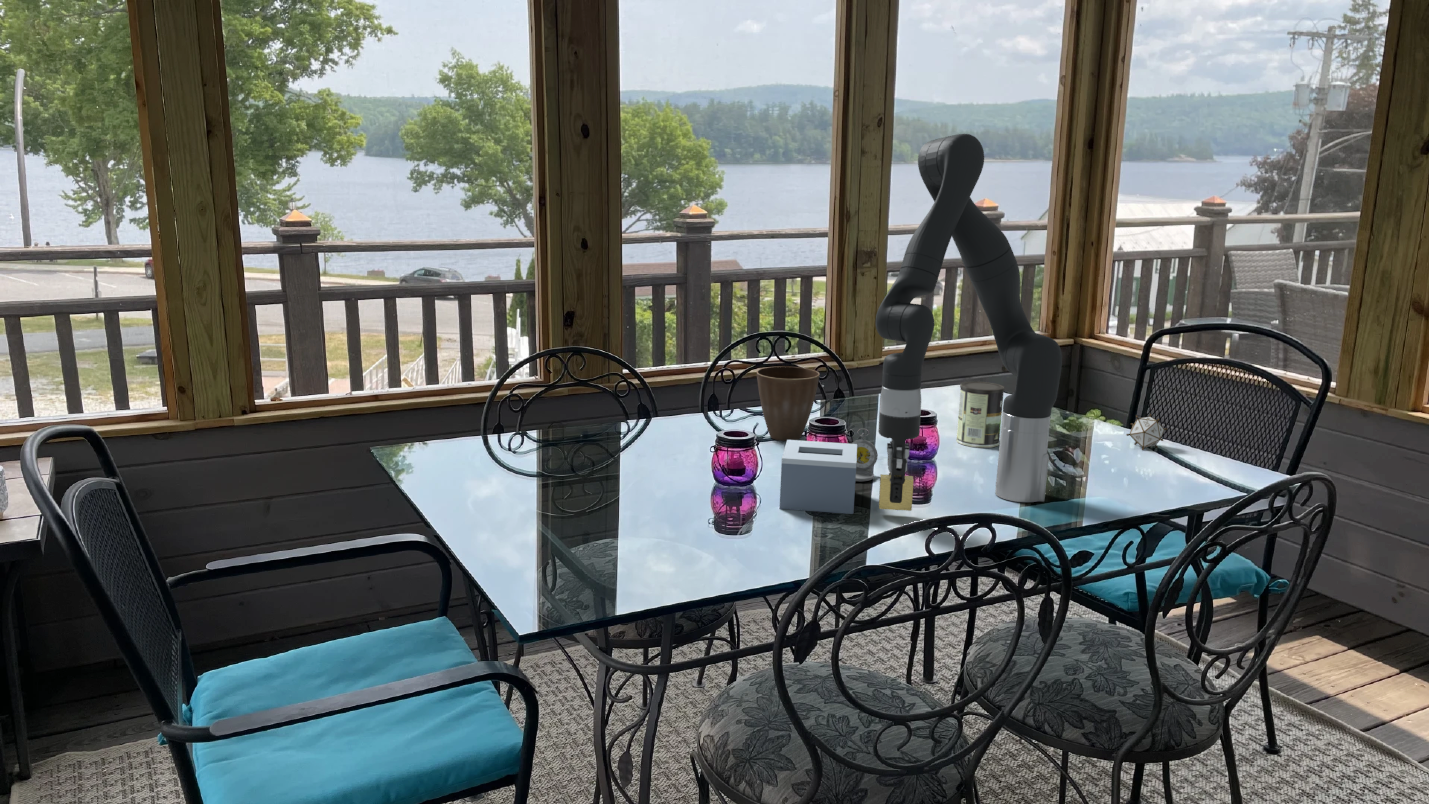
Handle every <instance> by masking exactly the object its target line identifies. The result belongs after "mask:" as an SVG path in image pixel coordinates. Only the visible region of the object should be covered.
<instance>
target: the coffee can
mask: <svg viewBox="0 0 1429 804" xmlns="http://www.w3.org/2000/svg"><path fill="white" fill-rule="evenodd" d="M959 386H960V387H959V388H960V393H959V403H958V416H957V417H958V419H957V429H956V430H957V431H956V440H955V441H956V443H957V444H960V445H962V446H965V447H972V448H980V449H982V448H983V449H985V448H986V449H987V448H996V447H998V446H1000V435H1001V426H1002V425H1001V424H1002V413H1003V403H1004V393H1005V392H1004V391H1005V386H1004V385H1002V384H999V383H996V382H989V381H976V380H975V381H964V382H961V383H960V384H959Z"/></svg>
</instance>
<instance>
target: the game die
mask: <svg viewBox="0 0 1429 804" xmlns="http://www.w3.org/2000/svg"><path fill="white" fill-rule="evenodd" d="M1152 416H1153V415H1152V413H1150V414H1149V416H1143V417H1139V415H1135V418H1136V420H1135V421H1134V423H1132V422H1131V423H1130V426H1131V429H1130V432H1129V433H1126V434H1125V436H1127V437H1128V436H1130V437H1131V438H1132V440H1133V441H1134V443H1133V444H1134V445H1135V446H1137V445H1139V446H1140V447H1141V450H1143V451H1144V450H1145V448H1149V447H1155V448H1156V449H1158V445H1157V444H1158V443H1160V441H1161V442H1164V439H1163V438H1162V437H1163V434H1164V431H1167V430H1168V428H1167V427H1163V426H1162V425H1161V423H1160V422H1159V421H1160V418H1157V419H1155V418H1153V417H1152Z"/></svg>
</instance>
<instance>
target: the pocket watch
mask: <svg viewBox="0 0 1429 804" xmlns="http://www.w3.org/2000/svg"><path fill="white" fill-rule="evenodd" d="M861 430H866V431H867V432H868V433H867V434H866V433H865V432H862V433H860V431H861ZM870 432H871V431H870V430H868V429H867V428H864V427H863V428H858V430H857V434H858V436H860V438H861V439H856V440H854V441H853V442H852V443H850V444H857V462H856V479H855V482H860V483H861V482H868V481H871V480H873V479H874V477H875V474H874V473H873V472H871V471H868V470H870V469H871V468H873V467H875V464H876V463H877V462H878V461H877V460H878V450H877V448H876V446H875V445H874V444H873V443H872V442H871V441H869V440H867V439H865V438H866V437H867V436H869V435H870ZM860 461H861V462H860Z"/></svg>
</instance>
